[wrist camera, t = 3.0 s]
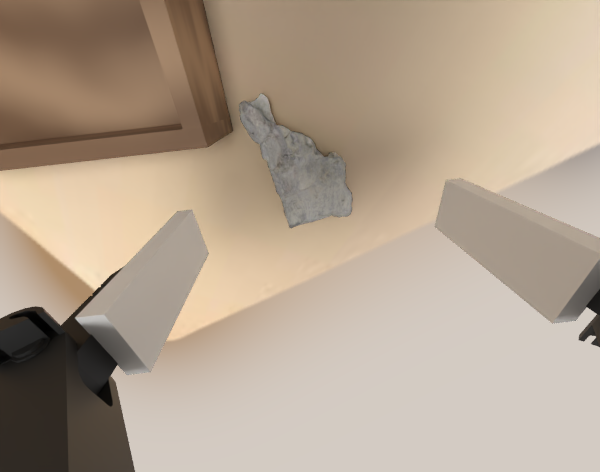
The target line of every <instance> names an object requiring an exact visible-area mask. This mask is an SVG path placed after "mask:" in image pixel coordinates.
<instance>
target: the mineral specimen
mask: <svg viewBox="0 0 600 472" xmlns="http://www.w3.org/2000/svg"><path fill="white" fill-rule="evenodd" d="M239 107H240V108H239V111H240V118H241V122H242V124H243V125H244V127H245V129H246V130H247V132H248V134H249V135H250V137H251V138H252V139H253V140H254V141H255V142H256V143H258V144H260V148H261V153H262V157H263V159H265V160H267V163H268V167H269V168H270V172H271V175H272V178H273V181H274V183H275V187H276V192H277V193H278V194H279V196H280V198H281V200H282V203H283V207H284V213H285V216H286V218H287V221H288V223H289V227H290V228H293V227H295V226H298V225H301V224H305V223H309V222H313V221H316V220H320V219H323V218H326V217H329V216H331V215H332V216H335V217H336V216H337V217H342V216H349V215H350V214H351V211H352V207H351V203H352V196H351V195H352V193H351V192H350V190H349V189H348V188H347V186H346V183H345V179H346V170H345V167H346V163H345V162H344V160H343V159H342V158H341V156H338V155H337V153H335V152H330V153H329V155H328V156H327V157H324V156H323V155H322V154H321V153H320V152H319V151H318V150H317V149H316V146H315V144H314V142H313V141H312V139H311V138H310V137H307V136H305V135H304V134H302V133H297V132H293V131H290V130H289V129H288V128H286V127H284V126H283V125H281V126H280V125H276V123H275V120H274V117H273V115H272V113H271V109H270V104H269V101H268V98H267V97H266V96H265V95H263V94H262V93H261V94H260V95H259V97H258V98H257V99H256V100H255V101H252V102H247V101H243V102H241V103H240V104H239Z"/></svg>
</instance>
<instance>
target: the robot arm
mask: <svg viewBox="0 0 600 472" xmlns="http://www.w3.org/2000/svg"><path fill="white" fill-rule="evenodd" d="M435 227H436V228H437V229H438V230H439V231H441V232H442V233H443V234H444V235H445V236H447V237H448V238H449V239H450V240H451V241H453V242H454V243H455V244H456V245H458V246H459V247H460V248H461V249H463V250H464V251H465V252H466V253H467V254H469V255H470V256H471V257H472V258H473V259H475V260H476V261H477V262H478V263H479V264H481V265H482V266H483V267H484V268H486V269H487V270H488V271H489V272H490V273H492V274H493V275H494V276H495V277H496V278H498V279H499V280H500V281H501V282H503V283H504V284H505V285H506V286H508V287H509V288H510V289H511V290H512V291H514V292H515V293H516V294H517V295H519V296H520V297H521V298H522V299H523V300H524V301H526V302H527V303H528V304H529V305H531V306H532V307H533V308H534V309H536V310H537V311H538V312H539V313H540V314H541V315H543V316H544V317H545V318H546V319H548V320H549V321H550V322H551V323H560V322H568V321H576V320H577V318H578V317H579V316H580V314H581V313H582V312H583V311H584V310H585V308H586V307H588V308H589V309H591V310H592V311H594V312H595V313H597V315H596V316H595V318H594V319H593V320H592V321H591V322H590V323H589V325H588V326H587V327H586V328H585V329H584V330H583V331H582V333H581V334H580V335H579V340H581V341H585V339H587V337H588V336H590V335H592V336H596V339H595V340H594V341H593V342H592V343H591V344H593V345H596V346H599V347H600V238H598V237H596V236H594V235H591V234H589V233H587V232H584V231H582V230H580V229H578V228H575V227H573V226H571V225H568V224H566V223H564V222H561V221H559V220H557V219H554V218H552V217H549V216H547V215H545V214H543V213H540V212H538V211H536V210H533V209H531V208H529V207H526V206H524V205H521V204H519V203H517V202H514V201H512V200H510V199H508V198H505V197H503V196H500V195H498V194H496V193H494V192H491V191H489V190H487V189H484V188H482V187H480V186H477V185H475V184H473V183H470V182H468V181H466V180H463V179H461V178H459V179H450V180H446V182H445V186H444V190H443V194H442V198H441V203H440V207H439V211H438V215H437V219H436V223H435ZM208 254H209V253H208V250H207V248H206V245H205V242H204V240H203V237H202V234H201V232H200V229H199V226H198V224H197V221H196V218H195V216H194V213H193V210H186V211H177V212H176V213H175V214H174V215H173V217H172V218H171V219H170V220H169V221H168V222H167V223H166V224H165V225H164V226H163V227H162V228H161V229H160V230H159V231H158V232H157V233H156V234H155V235H154V236H153V237H152V238H151V239H150V240H149V241H148V242H147V243H146V245H145V246H144V247H143V248H142V249H141V250H140V251H139V252H138V253H137V254H136V255H135V256H134V257H133V258H132V259H131V260H130V261H129V262H128V263H127V264H126V265H125V266H124V267H123V268H121V269H120V270H118V271H117V272H115V273H114V274H112V275H111V276H110V277H109V278H108V279H107V280H106V281H105V282H104V283H103V284H102V285H101V287H99V288H98V289H97V290H96V291H95V292H94V293H93V296H90V297H89V298H88V299H87V300H86V301H85V302H84V303H83V304H82V305H81V306H80V307H79V308H78V309H77V310H76V311H75V312H74V313H73V314H72V315H71V316H70V317H69V318H68V319H67V320H66V321H65V322H64V323H63V324H62V325H61V326H60V325H59V324H58V323H57V322H56V321H55V320H54V319H53V318H52V317H51V316H50V315H49V314H48V313H47V312H46V311H45V310H44V309H43V308H42V307H30V308H25V309H22V310H19V311H16V312H14V313H11V314H9V315H7V316H5V317H3V318H1V319H0V472H135V470H134V466H133V461H132V456H131V451H130V447H129V442H128V437H127V433H126V428H125V424H124V419H123V414H122V410H121V405H120V400H119V396H118V391H117V387H116V383H115V381H114V379H113V378H112V377H111V374H112V372H113V371H114V369H115V368H116V366H117V365H118V366H119V367H120V368H121V369H122V370H123V371H124V372H125V373H126V374H127V375H130V374H139V373H146V372H151V370H152V368H153V366H154V364H155V362H156V360H157V358H158V356H159V354H160V352H161V350H162V347H163V346H164V344H165V342H166V340H167V338H168V336H169V334H170V332H171V329H172V327H173V325H174V323H175V321H176V319H177V317H178V315H179V313H180V311H181V309H182V307H183V305H184V303H185V301H186V299H187V297H188V295H189V293H190V291H191V289H192V287H193V285H194V283H195V280H196V278H197V276H198V274H199V272H200V270H201V268H202V266H203V264H204V262H205V260H206V258H207V256H208Z"/></svg>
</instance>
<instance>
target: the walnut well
mask: <svg viewBox="0 0 600 472" xmlns="http://www.w3.org/2000/svg"><path fill="white" fill-rule="evenodd" d="M232 131H233V129H232V125H231V120H230V116H229V112H228V107H227V103H226V99H225V95H224V90H223V86H222V82H221V77H220V73H219V69H218V64H217V60H216V56H215V51H214V47H213V43H212V38H211V34H210V30H209V26H208V21H207V17H206V13H205V8H204V4H203V0H0V171H2V170H11V169H20V168H28V167H37V166H46V165H55V164H64V163H72V162H81V161H90V160H99V159H108V158H116V157H125V156H134V155H143V154H152V153H160V152H169V151H178V150H187V149H196V148H204V147H209V146H210V145H212V144H213V143H215V142H217V141H218V140H220V139H221V138H223V137H224V136H226V135H228V134H229V133H231V132H232Z"/></svg>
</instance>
